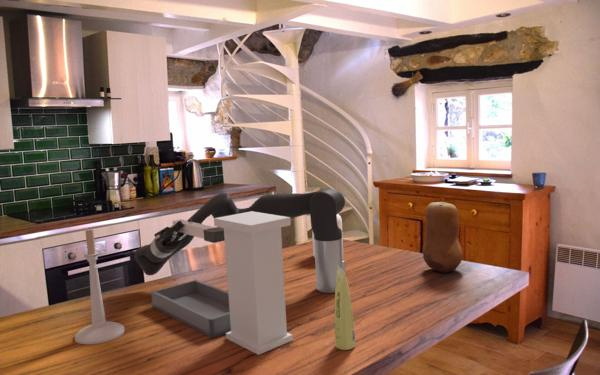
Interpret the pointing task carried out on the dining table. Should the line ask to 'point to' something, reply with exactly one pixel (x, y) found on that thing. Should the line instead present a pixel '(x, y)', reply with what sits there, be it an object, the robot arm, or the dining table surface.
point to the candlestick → (96, 305)
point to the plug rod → (202, 231)
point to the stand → (255, 279)
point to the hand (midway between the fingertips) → (186, 222)
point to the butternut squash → (442, 237)
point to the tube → (343, 314)
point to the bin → (196, 306)
